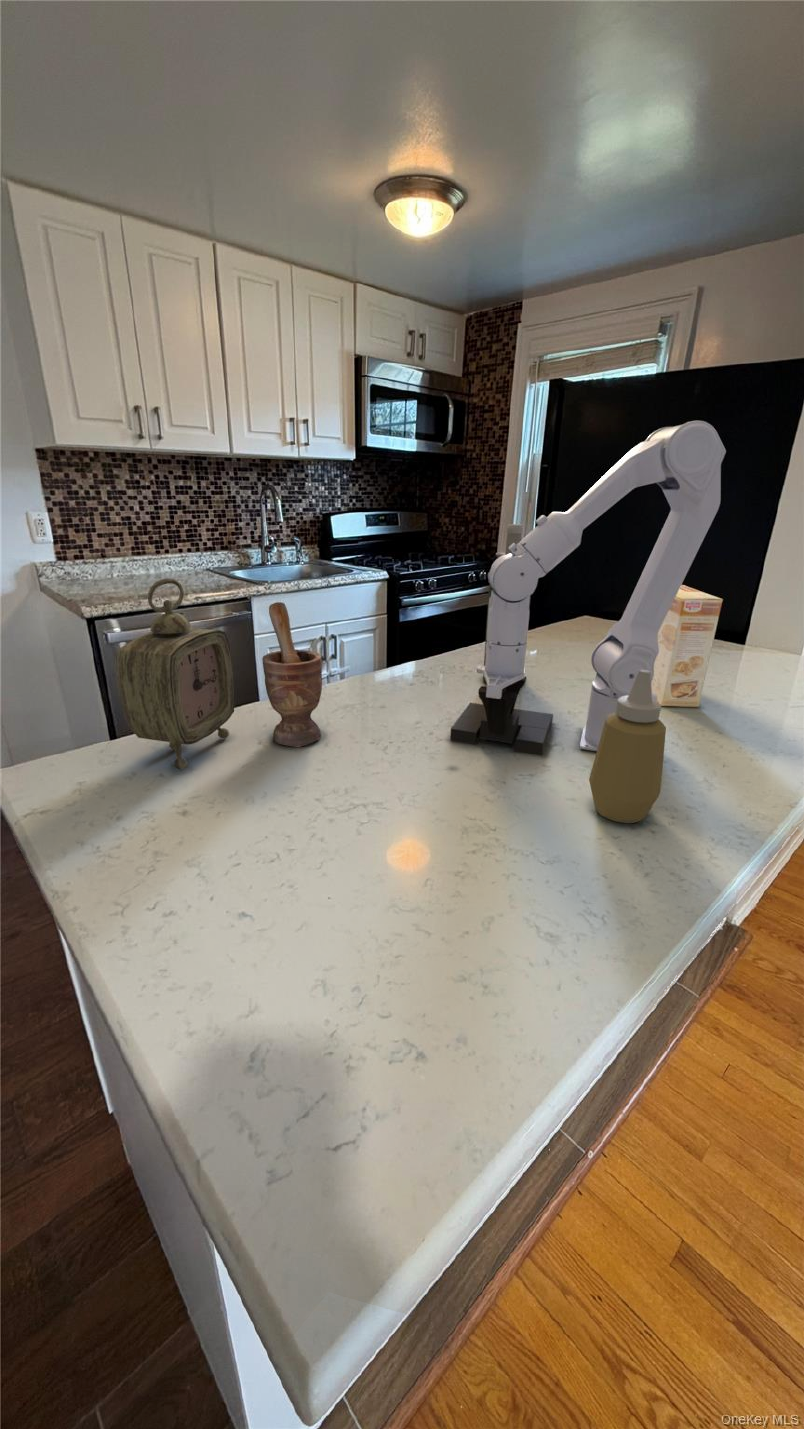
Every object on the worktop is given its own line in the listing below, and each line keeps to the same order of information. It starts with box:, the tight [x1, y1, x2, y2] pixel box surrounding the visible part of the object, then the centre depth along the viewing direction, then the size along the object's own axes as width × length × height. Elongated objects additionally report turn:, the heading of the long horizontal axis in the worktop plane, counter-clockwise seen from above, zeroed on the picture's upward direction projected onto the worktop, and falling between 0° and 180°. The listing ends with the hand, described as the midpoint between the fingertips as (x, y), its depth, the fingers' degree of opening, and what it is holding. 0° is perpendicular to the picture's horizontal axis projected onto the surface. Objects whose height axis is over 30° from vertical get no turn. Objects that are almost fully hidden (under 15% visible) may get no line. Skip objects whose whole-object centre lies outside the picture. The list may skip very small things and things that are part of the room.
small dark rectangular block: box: [479, 713, 519, 744], centre depth 87 cm, size 5×4×3 cm
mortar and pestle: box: [261, 601, 323, 749], centre depth 86 cm, size 12×9×20 cm
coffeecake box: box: [651, 584, 724, 708], centre depth 105 cm, size 15×7×20 cm, turn 179°
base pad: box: [449, 702, 554, 756], centre depth 90 cm, size 14×12×2 cm
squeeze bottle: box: [588, 670, 667, 824], centre depth 66 cm, size 8×8×18 cm
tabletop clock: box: [114, 578, 236, 771], centre depth 79 cm, size 14×9×25 cm, turn 164°
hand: (499, 727), depth 87 cm, fingers closed on small dark rectangular block, 4 cm apart
